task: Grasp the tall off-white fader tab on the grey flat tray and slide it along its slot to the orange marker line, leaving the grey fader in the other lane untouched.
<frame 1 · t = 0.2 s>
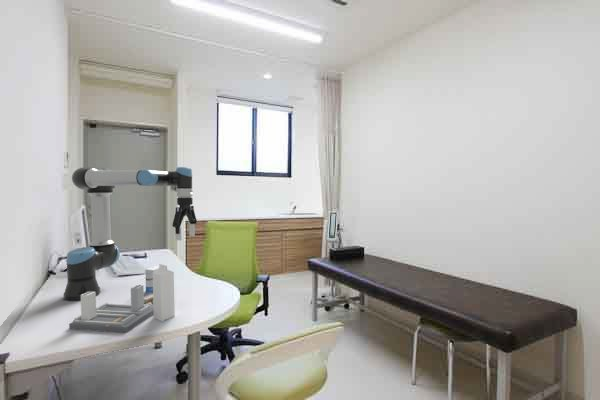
hand: (185, 238, 161), 28 cm above the table, fingers open, 13 cm apart
ink box: (154, 289, 165), on the table
figurine: (148, 305, 144), on the table
fader a: (88, 305, 123), point 7 cm above the table, slide at 0.0 cm
fader b: (137, 298, 131), point 7 cm above the table, slide at 0.0 cm
grey flat tray: (116, 319, 128), on the table
milk: (164, 317, 130), on the table
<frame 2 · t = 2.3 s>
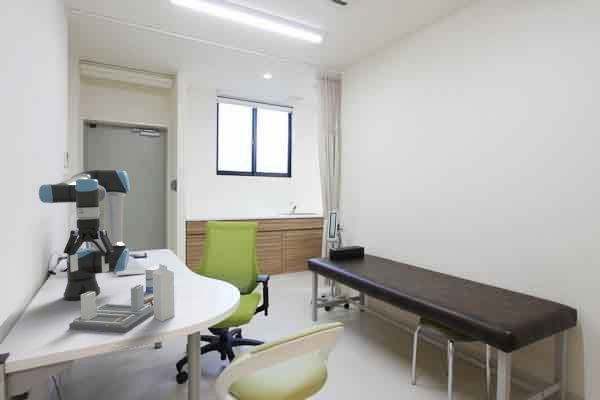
hand: (89, 271, 123), 21 cm above the table, fingers open, 13 cm apart
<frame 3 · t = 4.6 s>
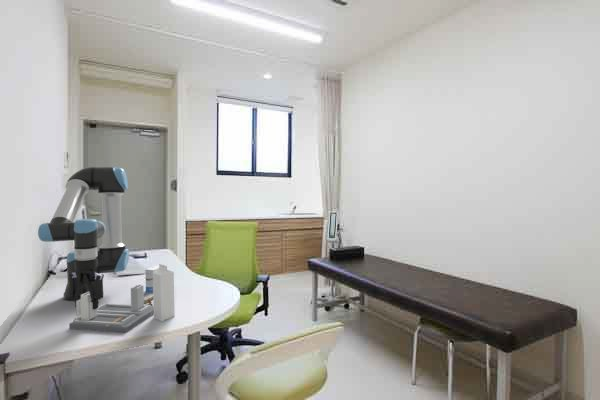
hand: (86, 316, 124), 3 cm above the table, fingers open, 5 cm apart
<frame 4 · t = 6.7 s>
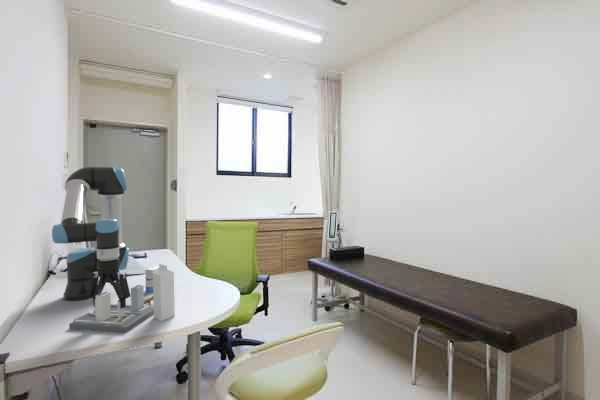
hand: (109, 315, 122), 4 cm above the table, fingers open, 9 cm apart
fader a: (103, 306, 123), point 7 cm above the table, slide at 6.5 cm, touching gripper
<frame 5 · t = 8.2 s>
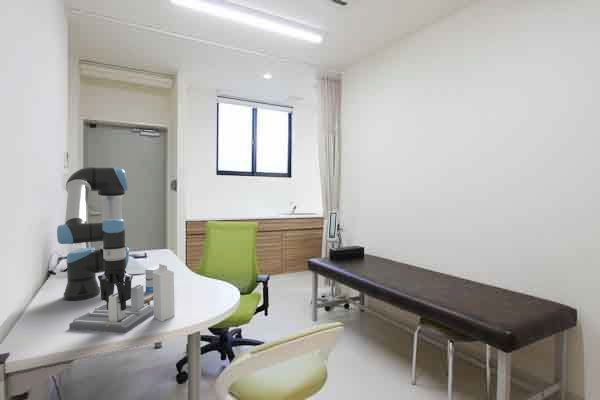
hand: (116, 317, 122), 3 cm above the table, fingers open, 3 cm apart
fader a: (116, 307, 122), point 7 cm above the table, slide at 12.1 cm
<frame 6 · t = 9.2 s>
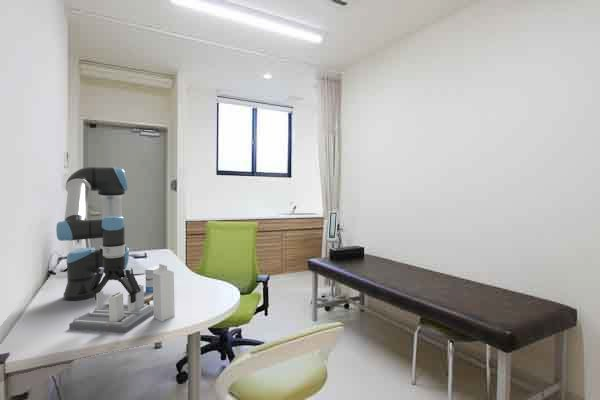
hand: (115, 309, 122), 6 cm above the table, fingers open, 13 cm apart
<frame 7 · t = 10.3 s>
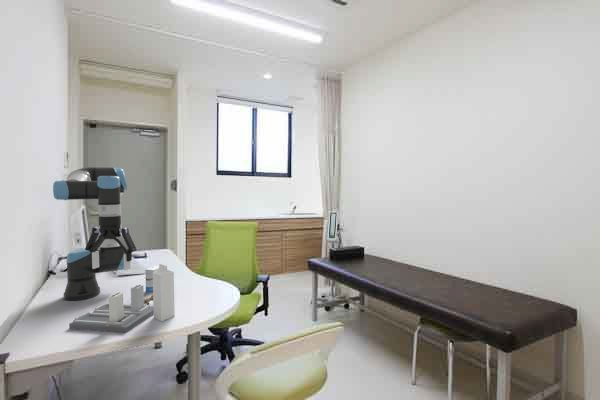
hand: (111, 268, 123), 22 cm above the table, fingers open, 13 cm apart
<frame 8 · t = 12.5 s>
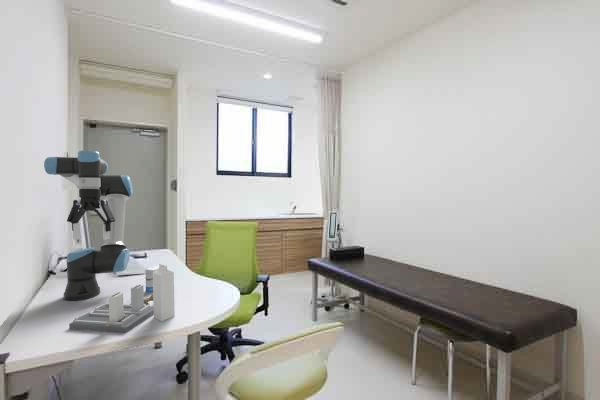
hand: (91, 239, 130), 33 cm above the table, fingers open, 13 cm apart
at the end: fader a slide at 12.1 cm; the gripper is holding nothing; fader b slide at 0.0 cm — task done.
